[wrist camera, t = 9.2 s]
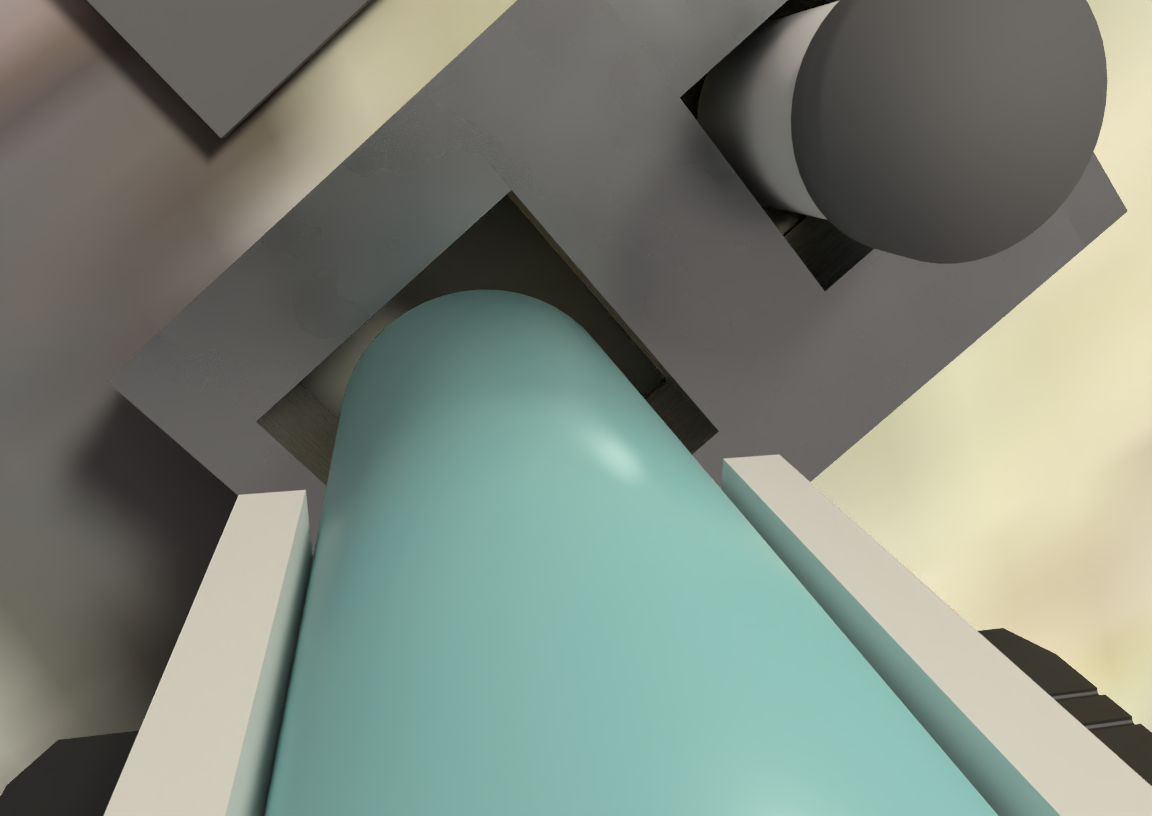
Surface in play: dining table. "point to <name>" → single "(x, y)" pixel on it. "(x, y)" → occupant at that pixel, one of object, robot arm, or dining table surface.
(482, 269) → the dining table surface
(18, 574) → the dining table surface
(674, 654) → the cartridge
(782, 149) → the plunger
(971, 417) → the dining table surface
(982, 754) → the robot arm
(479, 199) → the housing
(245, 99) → the mat
